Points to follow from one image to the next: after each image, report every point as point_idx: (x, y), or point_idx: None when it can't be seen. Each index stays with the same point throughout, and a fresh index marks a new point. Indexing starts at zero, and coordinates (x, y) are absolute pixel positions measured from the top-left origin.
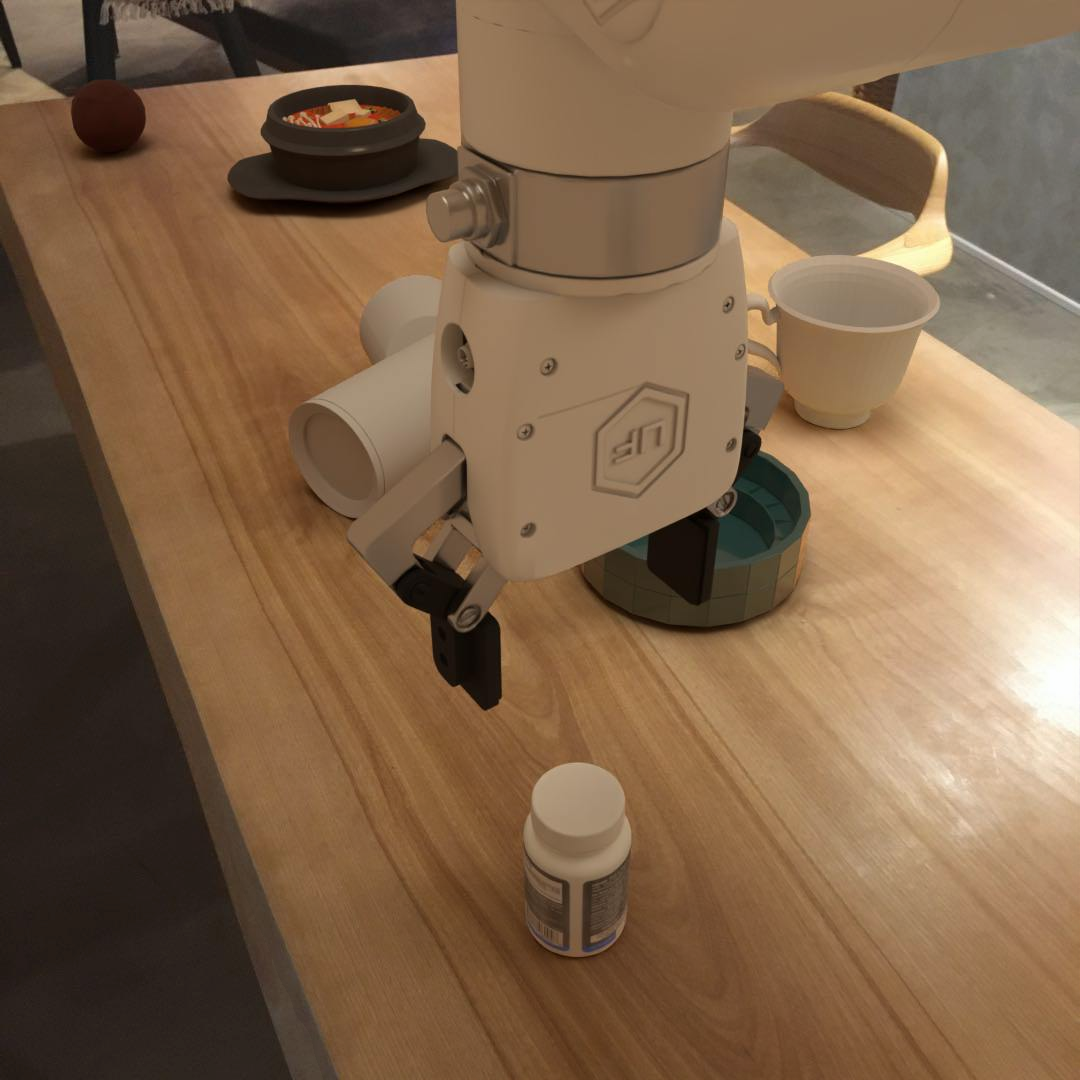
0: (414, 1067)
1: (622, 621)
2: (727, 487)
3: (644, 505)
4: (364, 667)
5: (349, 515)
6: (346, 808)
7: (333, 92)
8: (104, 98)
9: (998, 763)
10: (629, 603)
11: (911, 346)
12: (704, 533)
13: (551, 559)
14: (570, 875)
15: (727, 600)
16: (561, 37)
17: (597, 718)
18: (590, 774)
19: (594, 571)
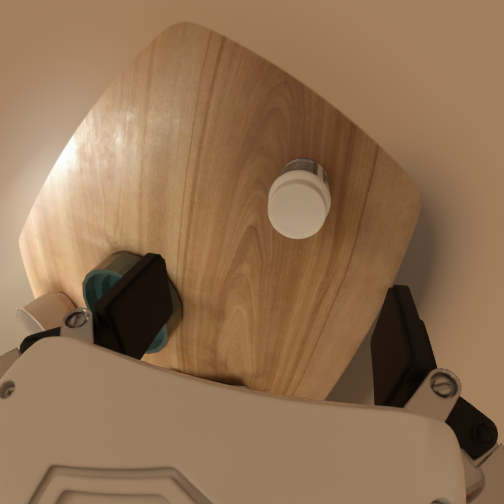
0: (406, 174)
1: (180, 289)
2: (45, 341)
3: (164, 439)
4: (290, 339)
5: (245, 388)
6: (346, 291)
7: None
8: None
9: (99, 135)
10: (173, 294)
11: (30, 303)
12: (111, 306)
13: (397, 441)
14: (322, 182)
15: None
16: None
17: (222, 258)
18: (278, 220)
19: (177, 315)
